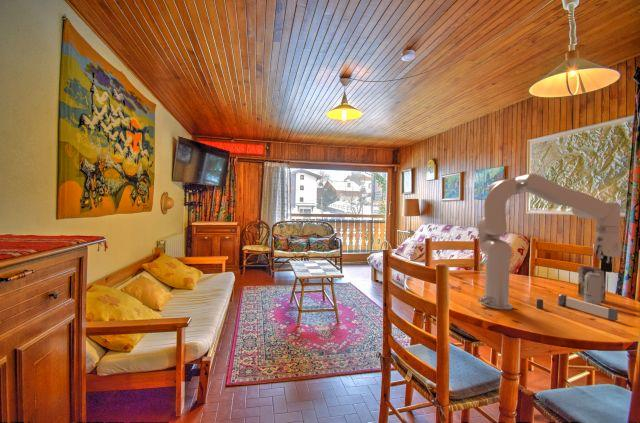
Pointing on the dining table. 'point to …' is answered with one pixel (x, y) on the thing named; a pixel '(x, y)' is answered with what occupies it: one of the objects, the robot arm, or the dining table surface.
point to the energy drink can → (592, 288)
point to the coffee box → (581, 280)
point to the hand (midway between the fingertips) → (606, 271)
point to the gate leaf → (593, 308)
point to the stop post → (539, 303)
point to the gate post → (562, 300)
